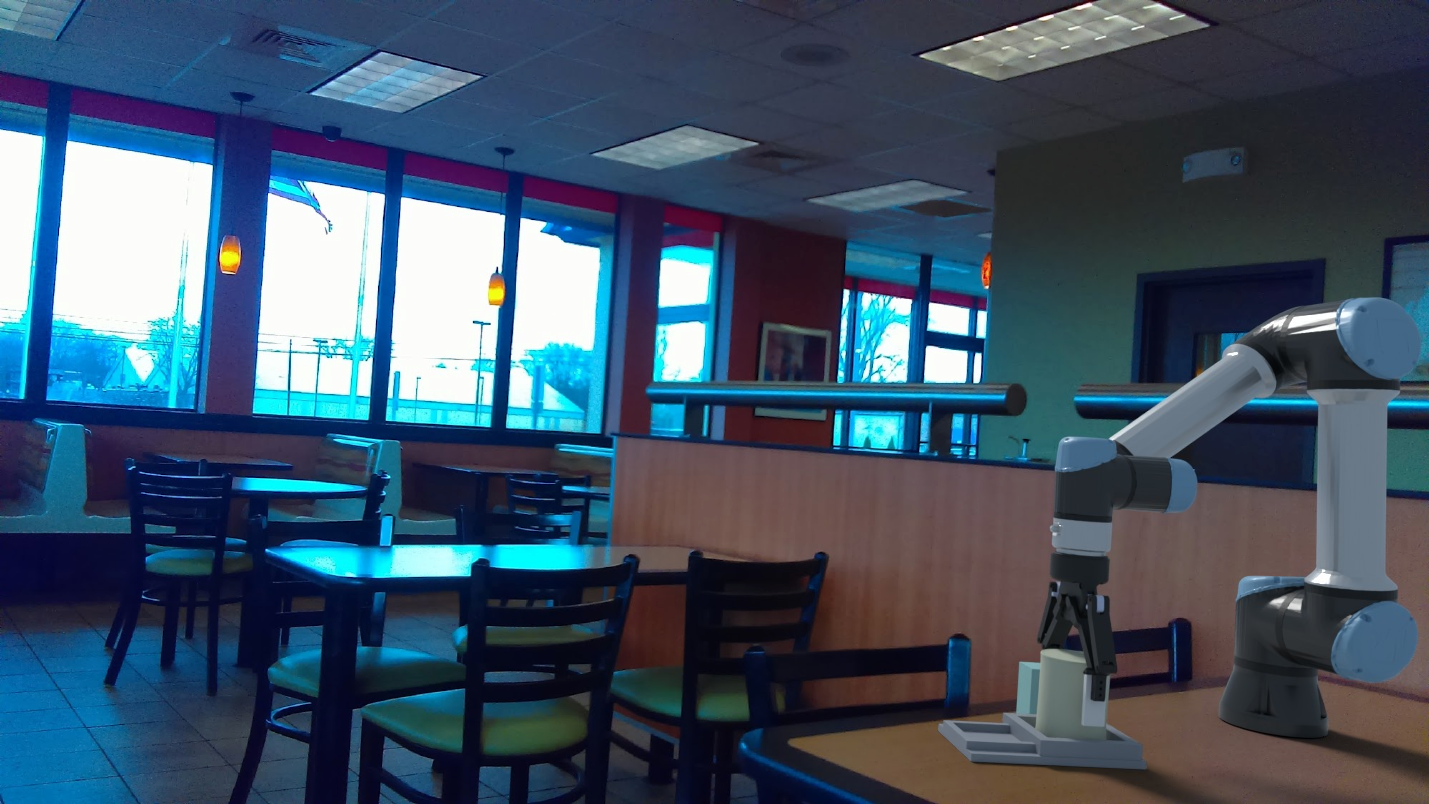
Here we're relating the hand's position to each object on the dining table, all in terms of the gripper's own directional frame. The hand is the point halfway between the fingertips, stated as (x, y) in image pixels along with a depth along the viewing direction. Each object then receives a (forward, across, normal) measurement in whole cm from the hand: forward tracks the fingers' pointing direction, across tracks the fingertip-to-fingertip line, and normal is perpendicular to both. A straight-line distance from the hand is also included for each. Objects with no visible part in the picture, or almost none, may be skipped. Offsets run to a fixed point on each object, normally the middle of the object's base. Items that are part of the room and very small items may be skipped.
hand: (1071, 712), depth 144 cm
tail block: (+5, -16, +2) cm, 17 cm away
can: (+4, 0, 0) cm, 4 cm away
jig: (+5, 0, -4) cm, 7 cm away
